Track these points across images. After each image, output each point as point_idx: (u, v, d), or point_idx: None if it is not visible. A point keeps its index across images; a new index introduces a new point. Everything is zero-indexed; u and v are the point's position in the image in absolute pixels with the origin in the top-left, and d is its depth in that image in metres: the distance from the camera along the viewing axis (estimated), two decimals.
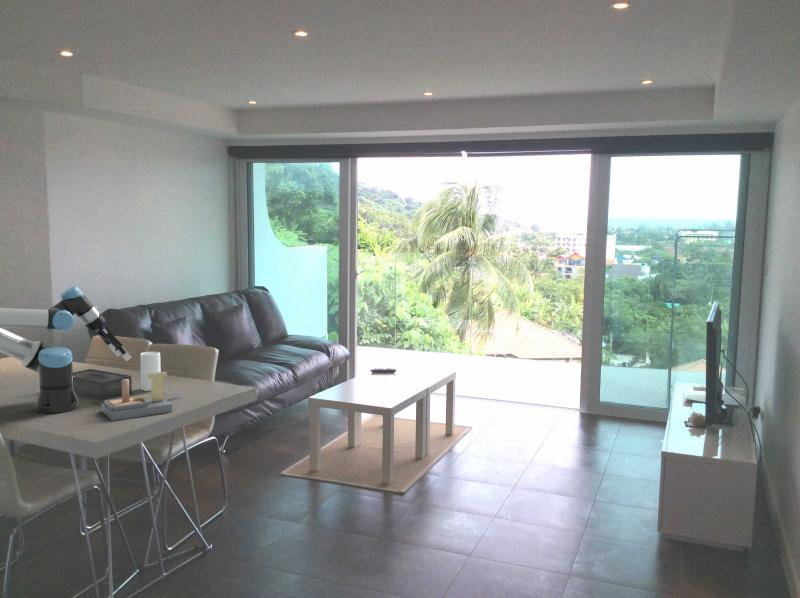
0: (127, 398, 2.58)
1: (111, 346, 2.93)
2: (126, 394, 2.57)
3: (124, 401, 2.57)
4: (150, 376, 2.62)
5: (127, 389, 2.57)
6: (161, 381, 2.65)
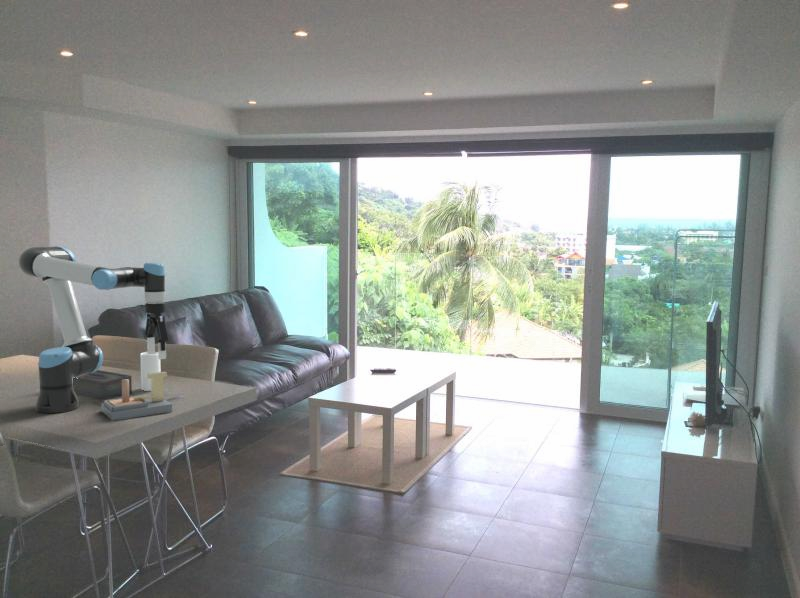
0: (127, 398, 2.58)
1: (149, 340, 2.69)
2: (126, 394, 2.57)
3: (124, 401, 2.57)
4: (150, 376, 2.62)
5: (127, 389, 2.57)
6: (161, 381, 2.65)
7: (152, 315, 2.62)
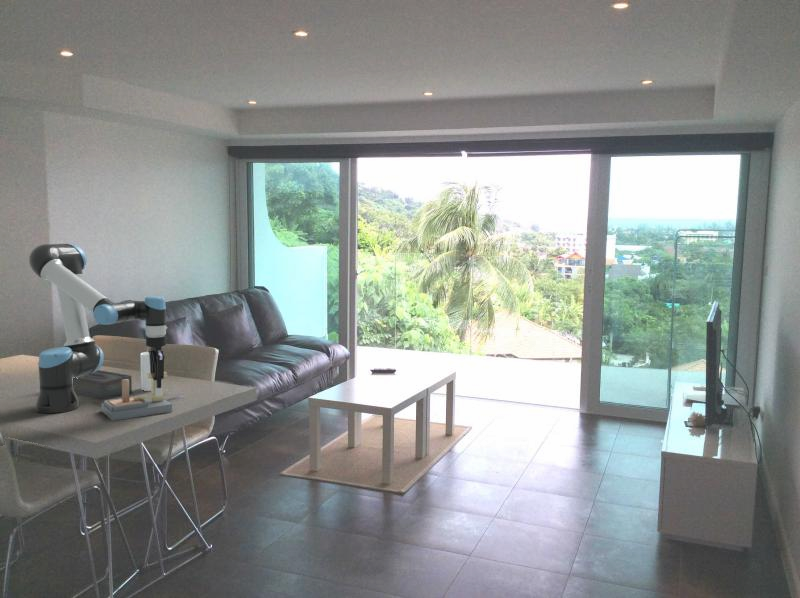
0: (127, 398, 2.58)
1: None
2: (126, 394, 2.57)
3: (124, 401, 2.57)
4: (150, 376, 2.62)
5: (127, 389, 2.57)
6: None
7: (153, 348, 2.63)
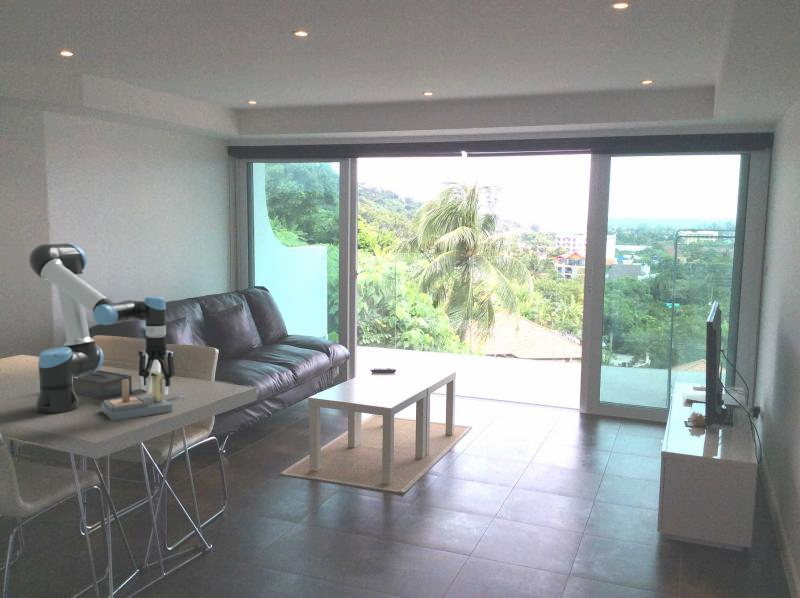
0: (127, 398, 2.58)
1: None
2: (126, 394, 2.57)
3: (124, 401, 2.57)
4: (151, 374, 2.66)
5: (127, 389, 2.57)
6: (155, 382, 2.63)
7: None
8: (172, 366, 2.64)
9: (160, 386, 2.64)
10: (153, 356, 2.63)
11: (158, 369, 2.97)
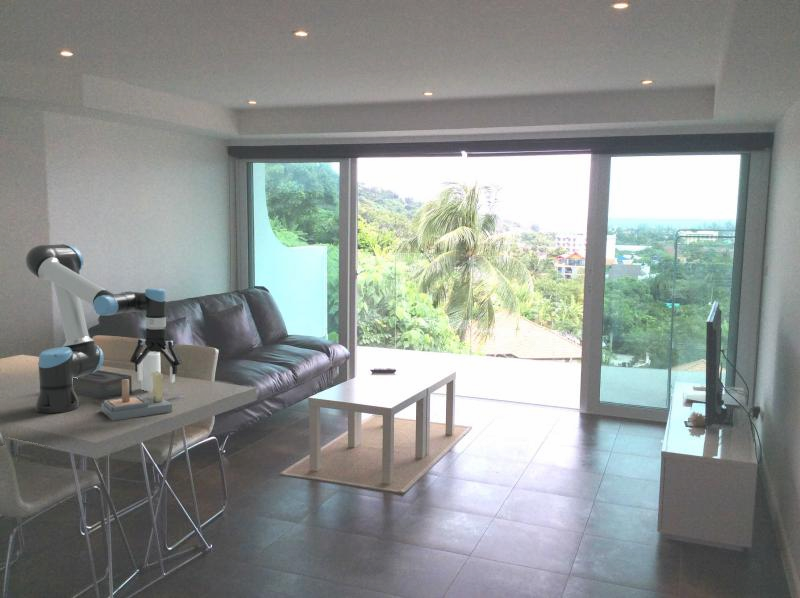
0: (127, 398, 2.58)
1: None
2: (126, 394, 2.57)
3: (124, 401, 2.57)
4: (151, 374, 2.67)
5: (127, 389, 2.57)
6: (155, 382, 2.63)
7: None
8: (176, 354, 2.63)
9: (160, 386, 2.64)
10: (153, 348, 2.63)
11: (158, 369, 2.97)
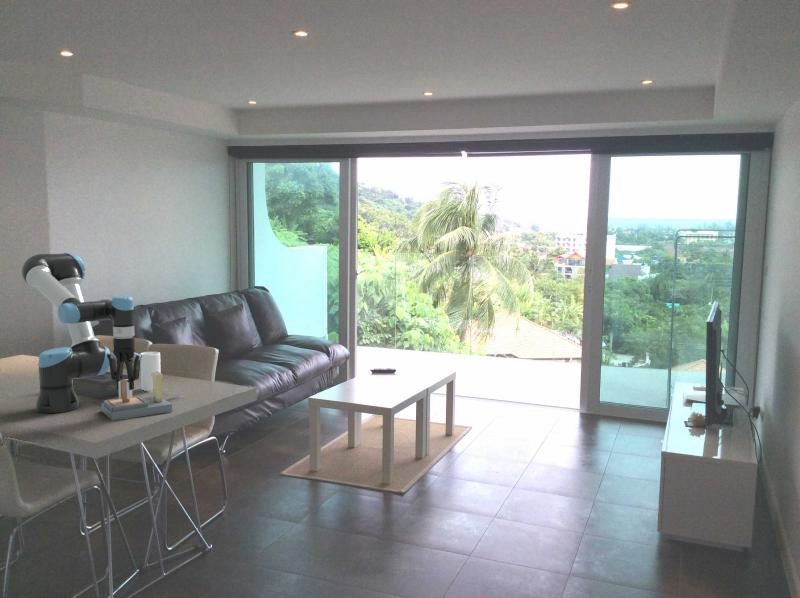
0: None
1: None
2: (126, 394, 2.57)
3: (124, 401, 2.57)
4: (151, 374, 2.67)
5: None
6: (155, 382, 2.63)
7: None
8: (137, 369, 2.57)
9: (160, 386, 2.64)
10: (121, 358, 2.56)
11: (158, 369, 2.97)
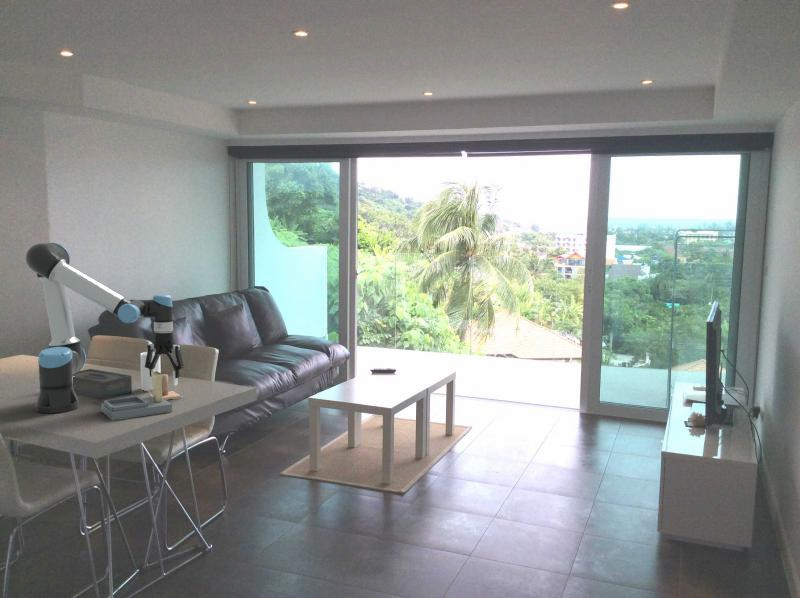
0: (166, 391, 2.83)
1: None
2: (165, 388, 2.82)
3: (163, 394, 2.82)
4: (151, 374, 2.67)
5: (166, 383, 2.82)
6: (155, 382, 2.63)
7: None
8: (180, 359, 2.81)
9: (160, 386, 2.64)
10: (161, 350, 2.81)
11: (158, 369, 2.97)
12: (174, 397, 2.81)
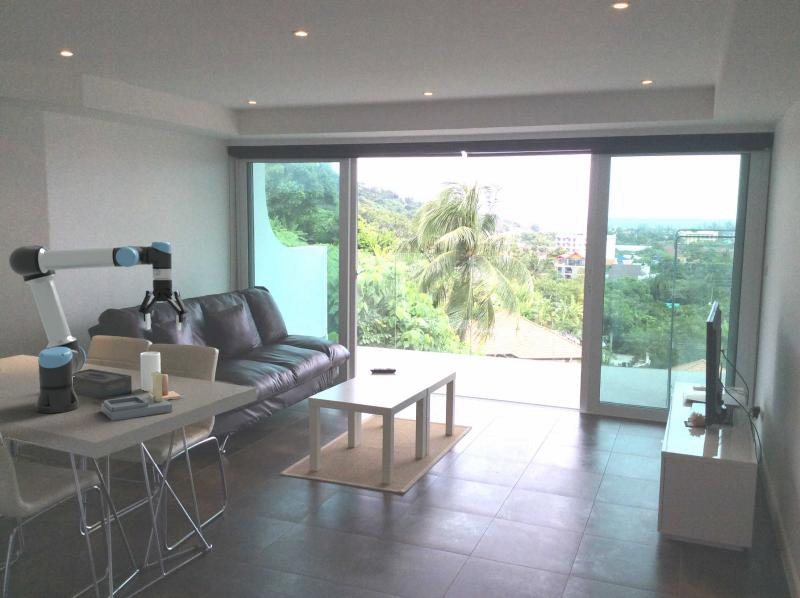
0: (166, 391, 2.83)
1: None
2: (165, 388, 2.82)
3: (163, 394, 2.82)
4: (151, 374, 2.67)
5: (166, 383, 2.82)
6: (155, 382, 2.63)
7: None
8: (182, 303, 2.79)
9: (160, 386, 2.64)
10: (160, 298, 2.79)
11: (158, 369, 2.97)
12: (174, 397, 2.81)
